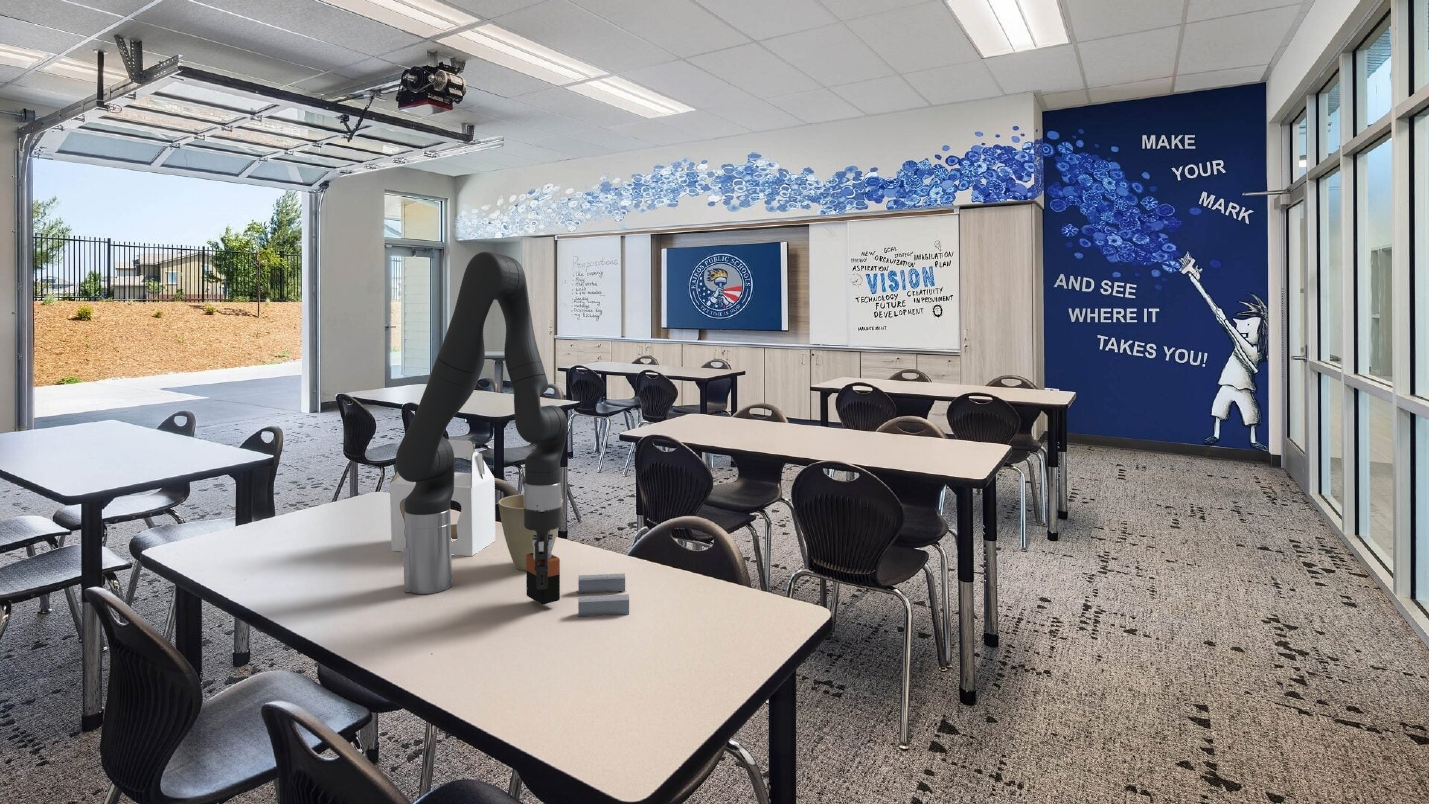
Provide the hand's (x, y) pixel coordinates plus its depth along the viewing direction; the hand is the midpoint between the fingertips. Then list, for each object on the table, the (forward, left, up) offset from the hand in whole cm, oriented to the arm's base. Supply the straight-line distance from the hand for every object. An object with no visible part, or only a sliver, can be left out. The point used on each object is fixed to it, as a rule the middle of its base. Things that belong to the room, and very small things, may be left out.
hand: (543, 581), depth 155 cm
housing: (+12, 0, -5) cm, 13 cm away
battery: (0, 0, -4) cm, 4 cm away
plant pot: (-4, +26, -5) cm, 27 cm away
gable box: (-27, +45, -5) cm, 53 cm away
